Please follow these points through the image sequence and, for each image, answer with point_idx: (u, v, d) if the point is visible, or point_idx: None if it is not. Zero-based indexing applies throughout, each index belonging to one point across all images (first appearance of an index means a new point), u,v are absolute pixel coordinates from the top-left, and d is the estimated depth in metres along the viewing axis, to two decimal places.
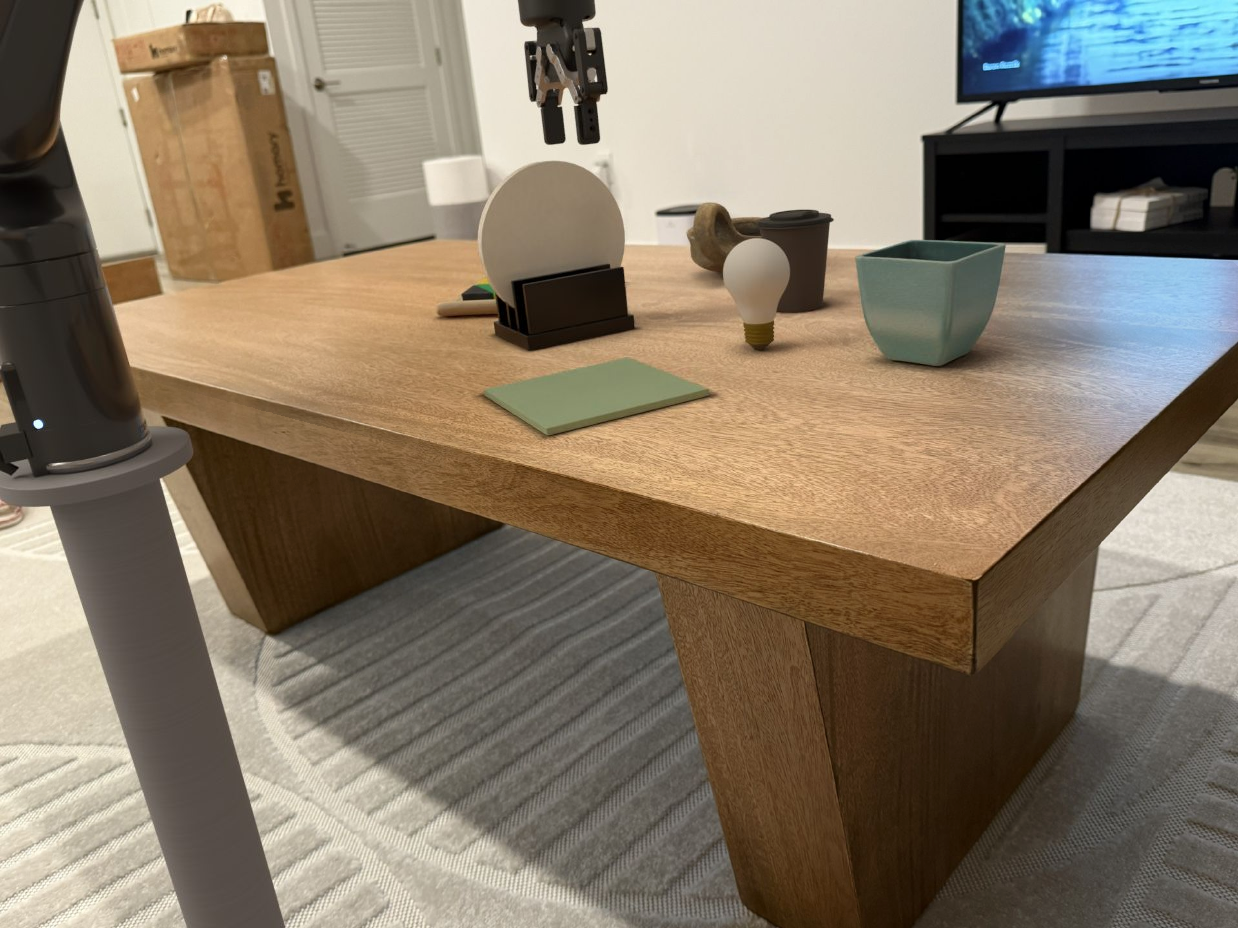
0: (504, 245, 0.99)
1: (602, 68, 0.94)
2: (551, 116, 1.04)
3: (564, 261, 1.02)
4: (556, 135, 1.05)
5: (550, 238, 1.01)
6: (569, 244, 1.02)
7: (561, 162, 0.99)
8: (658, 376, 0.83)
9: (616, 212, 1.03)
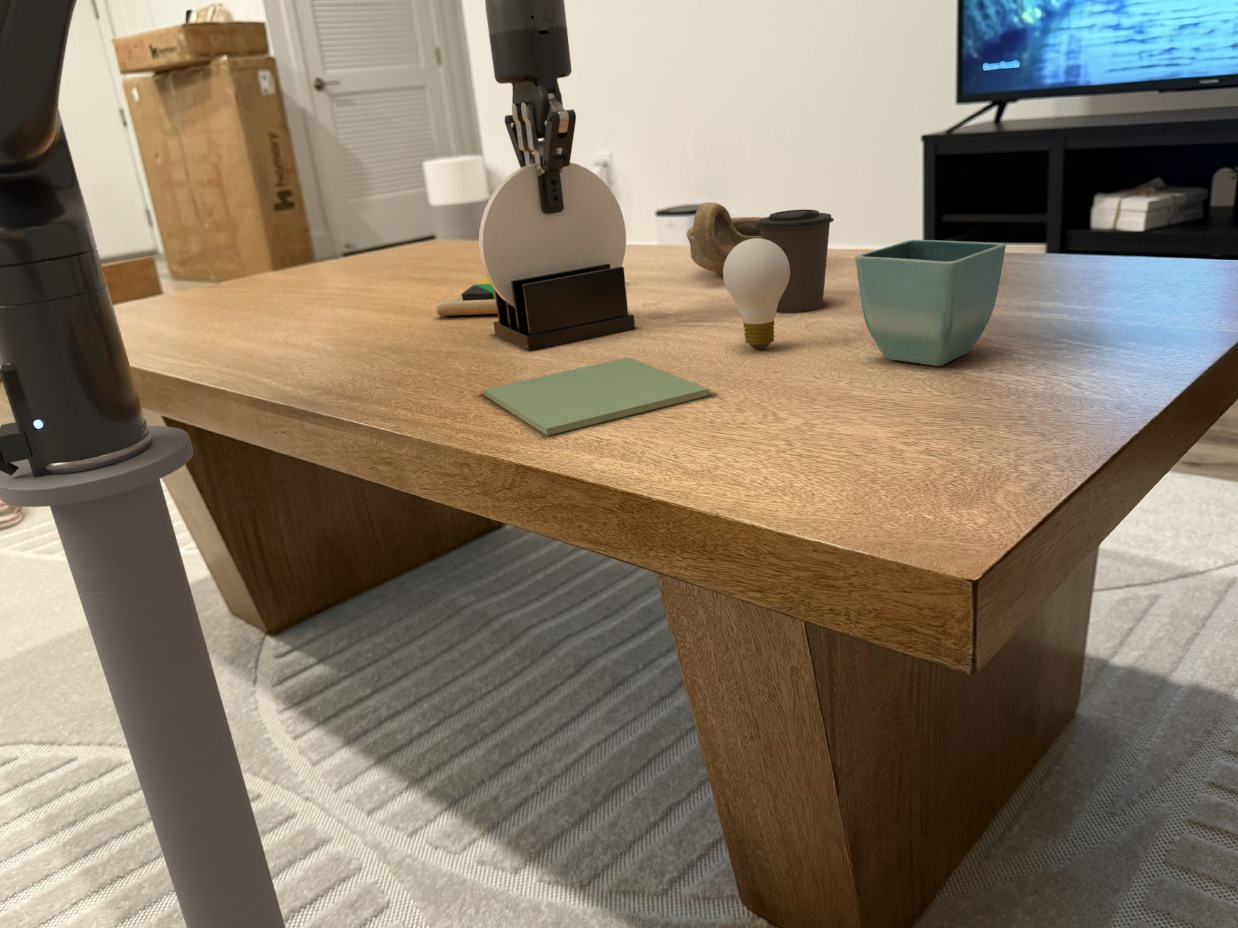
0: (505, 243, 0.99)
1: (569, 149, 0.95)
2: None
3: (565, 261, 1.02)
4: None
5: (552, 238, 1.01)
6: (570, 244, 1.02)
7: None
8: (658, 376, 0.83)
9: (618, 213, 1.03)
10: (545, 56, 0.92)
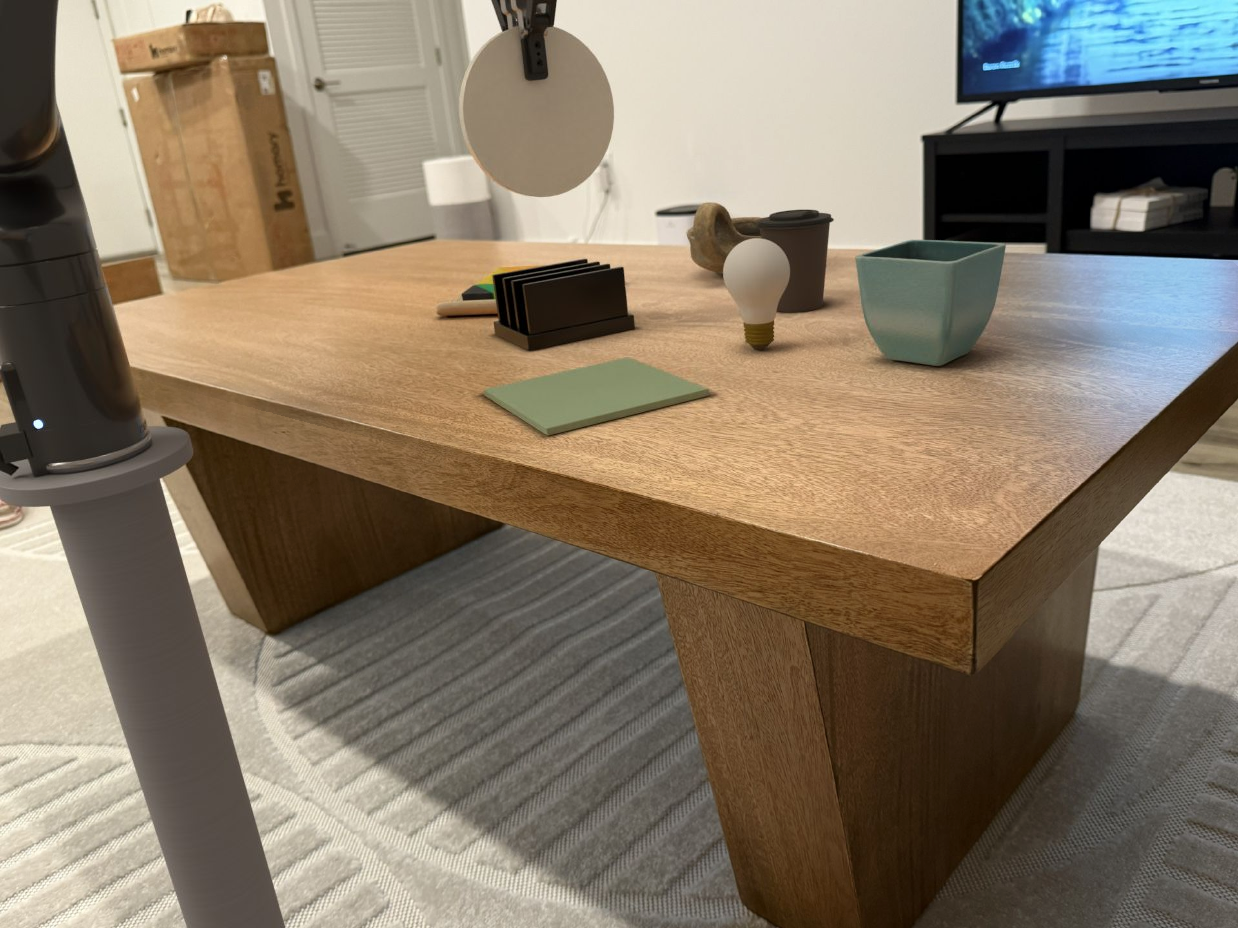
0: (487, 110, 0.94)
1: (553, 5, 0.90)
2: None
3: (550, 134, 0.98)
4: None
5: (536, 108, 0.96)
6: (555, 116, 0.97)
7: None
8: (658, 376, 0.83)
9: (606, 86, 0.99)
10: None
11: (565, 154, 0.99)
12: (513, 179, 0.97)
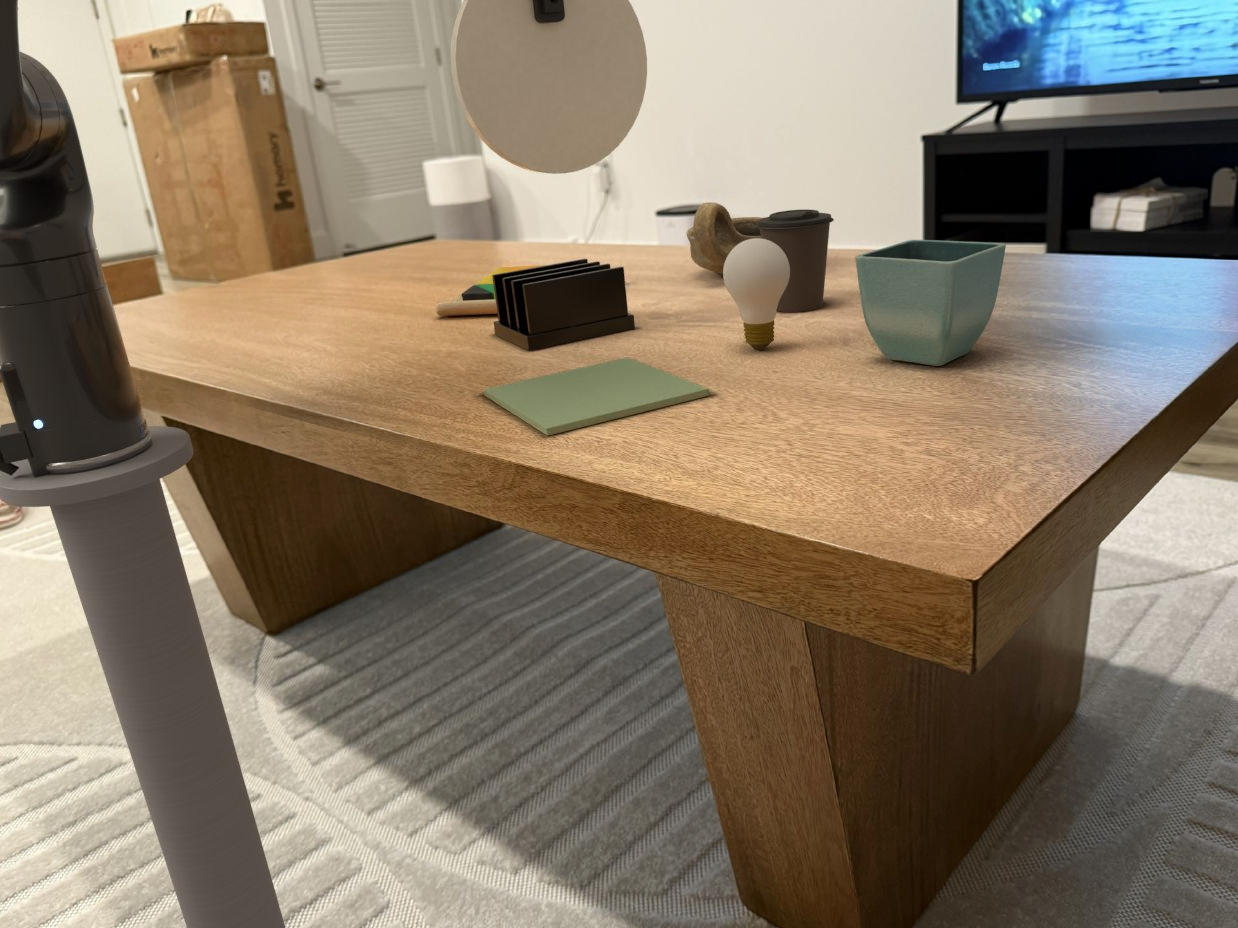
0: (486, 61, 0.73)
1: None
2: None
3: (567, 93, 0.77)
4: None
5: (549, 58, 0.75)
6: (574, 70, 0.76)
7: None
8: (658, 376, 0.83)
9: (637, 32, 0.78)
10: None
11: (586, 119, 0.78)
12: (520, 150, 0.76)
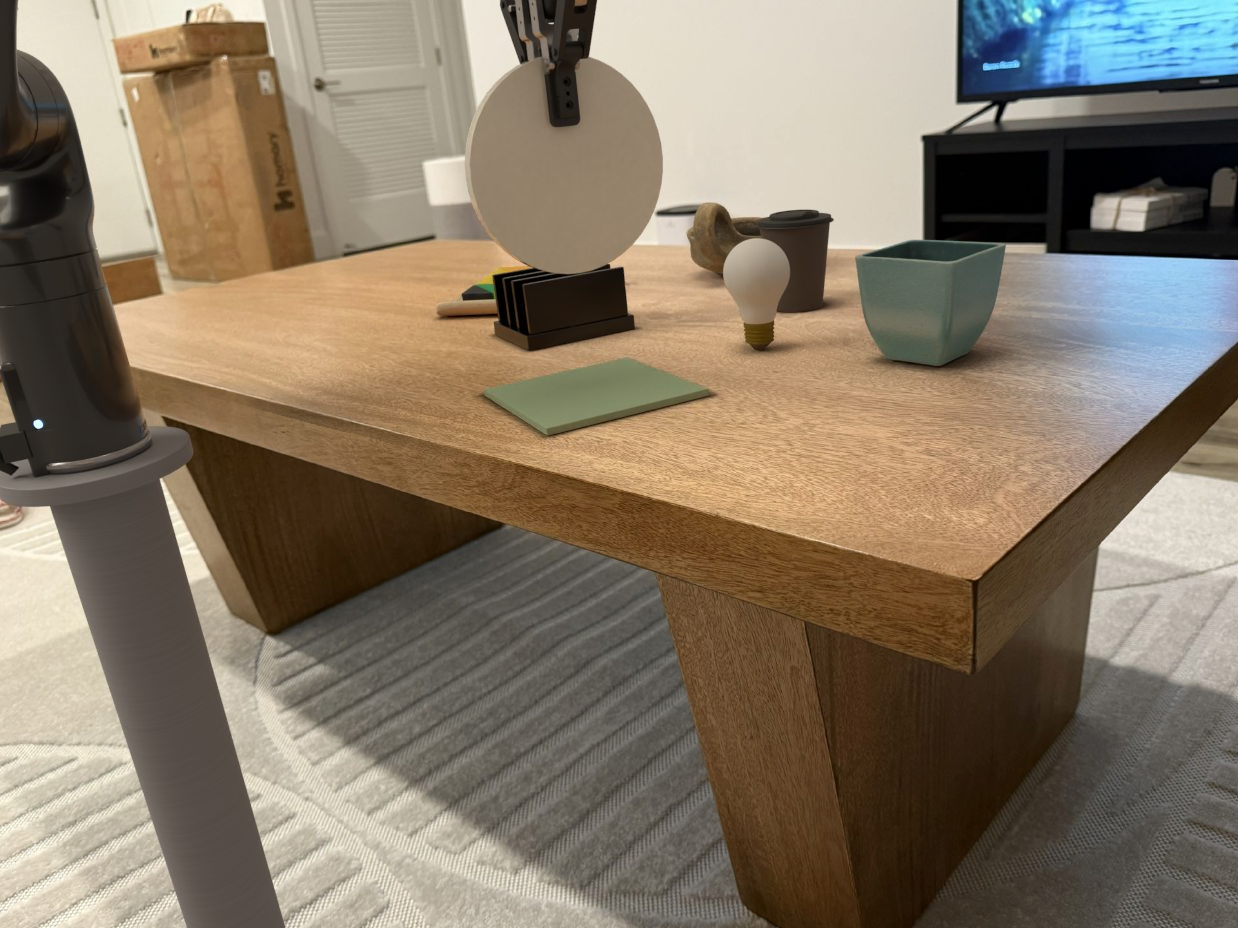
0: (501, 167, 0.72)
1: (589, 31, 0.68)
2: None
3: (582, 195, 0.76)
4: None
5: (564, 161, 0.74)
6: (589, 171, 0.75)
7: None
8: (658, 376, 0.83)
9: (653, 131, 0.77)
10: None
11: (601, 219, 0.77)
12: (535, 253, 0.75)
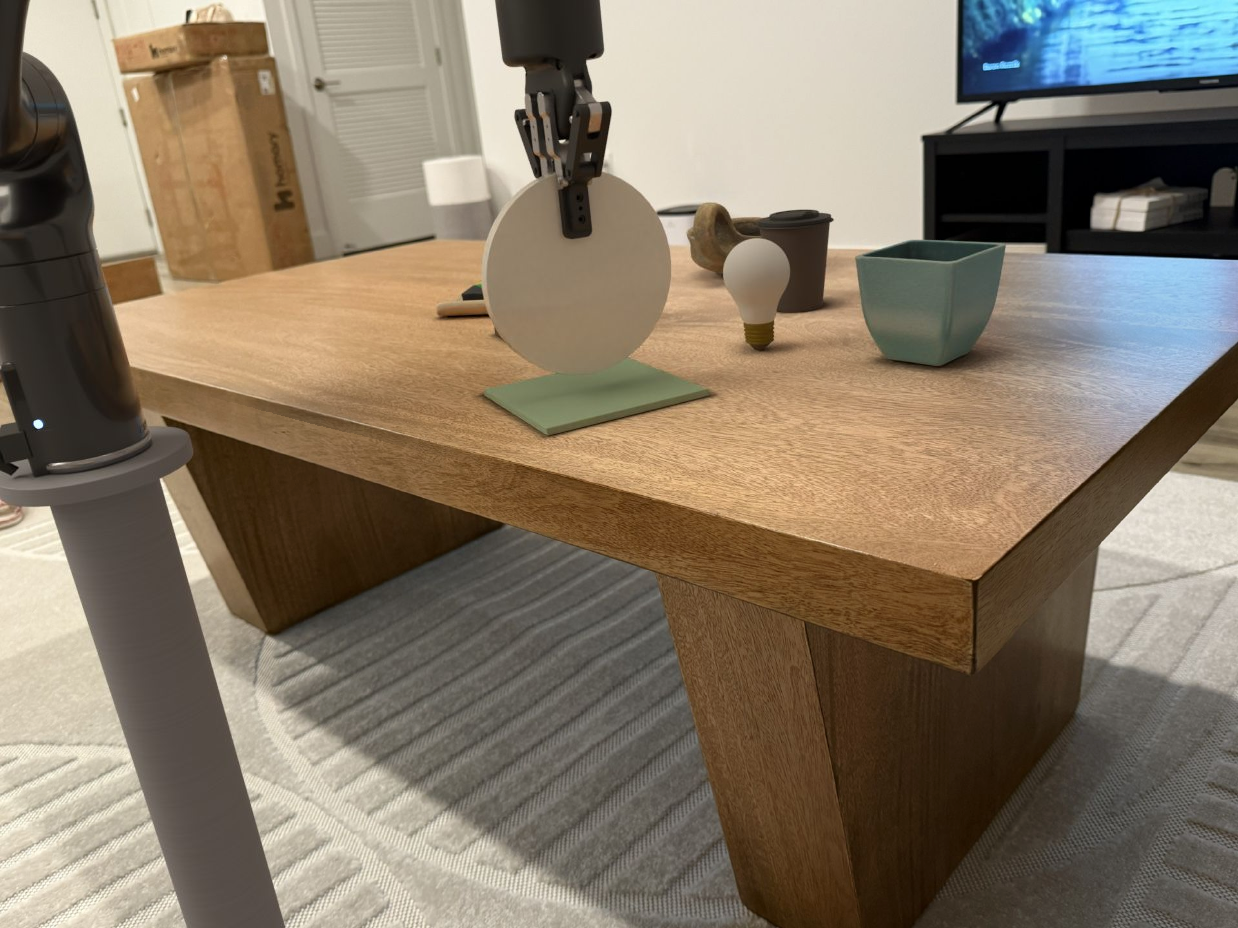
0: (516, 278, 0.75)
1: (601, 154, 0.71)
2: None
3: (594, 300, 0.78)
4: None
5: (576, 270, 0.77)
6: (600, 278, 0.78)
7: None
8: (658, 376, 0.83)
9: (662, 237, 0.80)
10: (570, 29, 0.68)
11: (611, 322, 0.80)
12: (548, 357, 0.78)
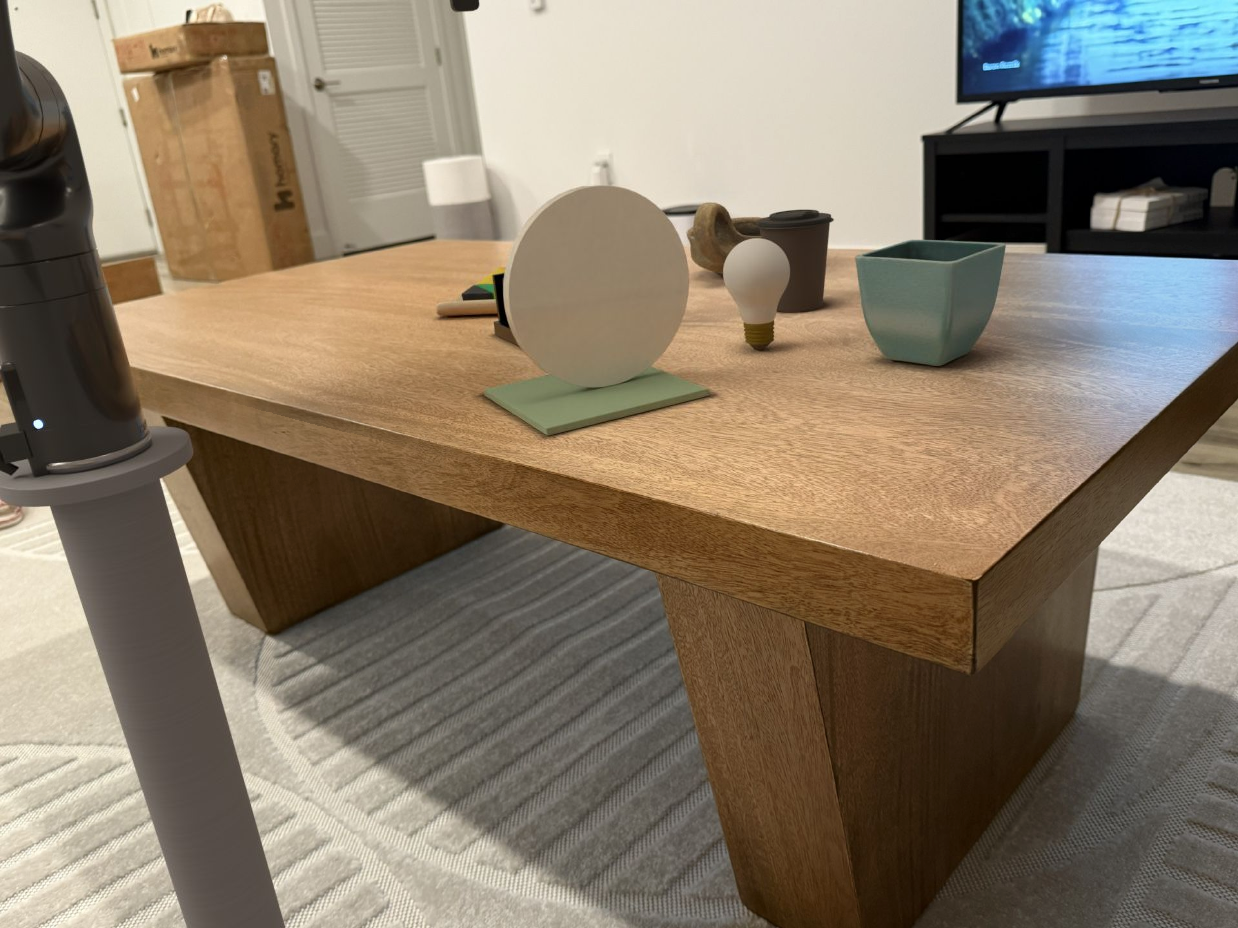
0: (538, 278, 0.76)
1: None
2: None
3: (608, 316, 0.79)
4: None
5: (597, 283, 0.78)
6: (619, 296, 0.79)
7: (630, 191, 0.77)
8: (658, 376, 0.83)
9: (684, 269, 0.81)
10: None
11: (621, 341, 0.81)
12: (554, 362, 0.78)
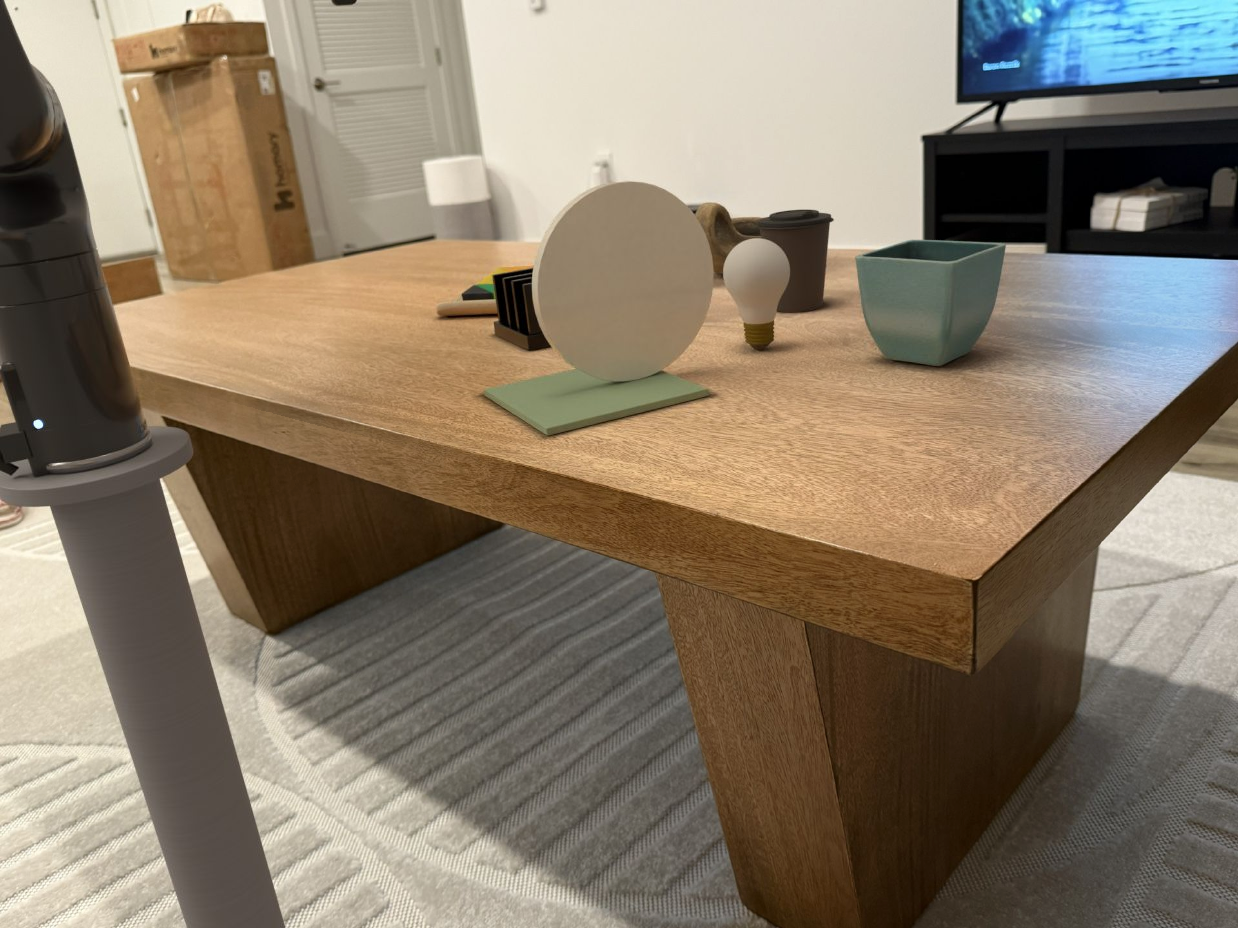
0: (573, 252, 0.77)
1: None
2: None
3: (627, 312, 0.80)
4: None
5: (626, 276, 0.79)
6: (642, 296, 0.80)
7: (680, 201, 0.80)
8: (658, 376, 0.83)
9: (708, 291, 0.83)
10: None
11: (633, 340, 0.81)
12: (565, 339, 0.78)
